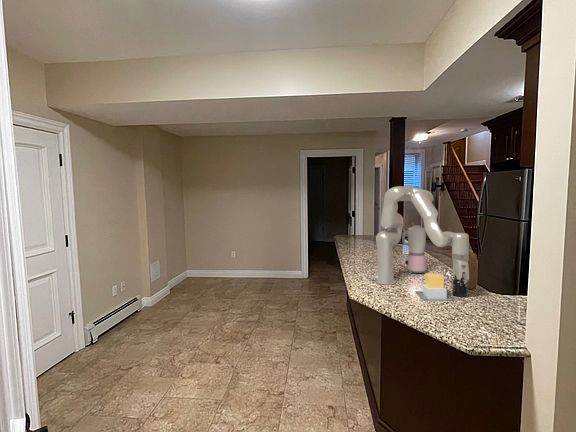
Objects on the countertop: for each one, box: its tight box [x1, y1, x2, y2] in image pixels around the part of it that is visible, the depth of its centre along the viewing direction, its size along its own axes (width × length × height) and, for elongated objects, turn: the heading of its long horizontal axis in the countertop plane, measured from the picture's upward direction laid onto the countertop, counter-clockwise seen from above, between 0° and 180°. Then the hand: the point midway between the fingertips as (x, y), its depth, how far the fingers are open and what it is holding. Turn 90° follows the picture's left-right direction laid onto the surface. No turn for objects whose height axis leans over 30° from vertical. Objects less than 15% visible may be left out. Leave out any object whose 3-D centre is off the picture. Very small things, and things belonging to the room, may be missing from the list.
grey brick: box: [422, 283, 448, 299], centre depth 170 cm, size 9×9×5 cm
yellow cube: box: [424, 272, 445, 289], centre depth 169 cm, size 7×7×6 cm
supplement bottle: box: [451, 275, 468, 299], centre depth 170 cm, size 7×7×12 cm
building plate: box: [414, 290, 457, 302], centre depth 170 cm, size 16×16×2 cm
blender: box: [401, 225, 427, 275], centre depth 225 cm, size 16×12×32 cm
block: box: [467, 251, 478, 290], centre depth 188 cm, size 11×8×20 cm
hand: (459, 291), depth 170 cm, fingers closed on supplement bottle, 6 cm apart
